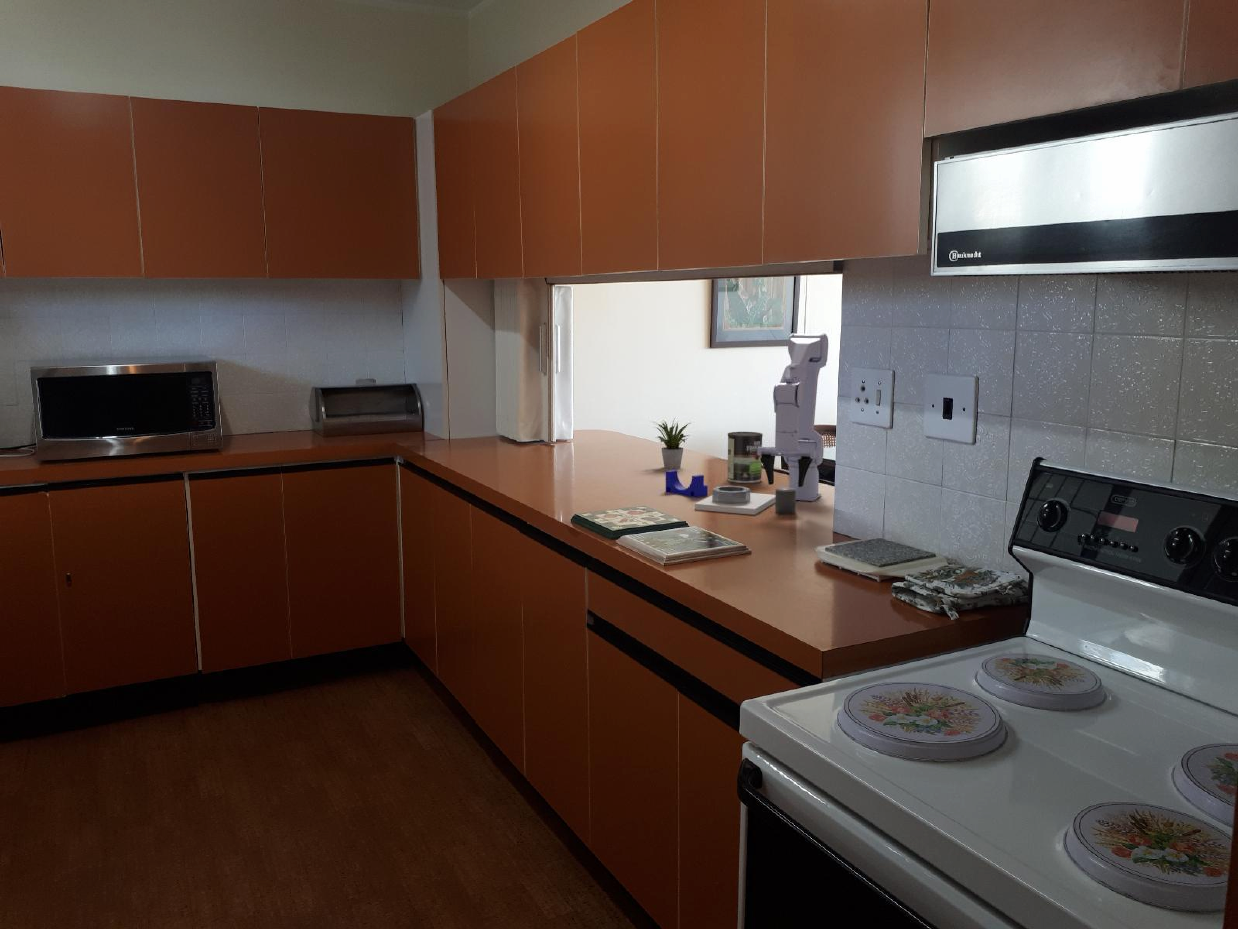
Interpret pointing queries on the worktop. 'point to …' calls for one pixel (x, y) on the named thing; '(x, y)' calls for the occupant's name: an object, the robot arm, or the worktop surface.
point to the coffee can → (744, 457)
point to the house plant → (672, 445)
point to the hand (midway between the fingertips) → (785, 485)
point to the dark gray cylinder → (785, 500)
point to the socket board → (738, 508)
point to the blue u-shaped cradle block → (676, 487)
